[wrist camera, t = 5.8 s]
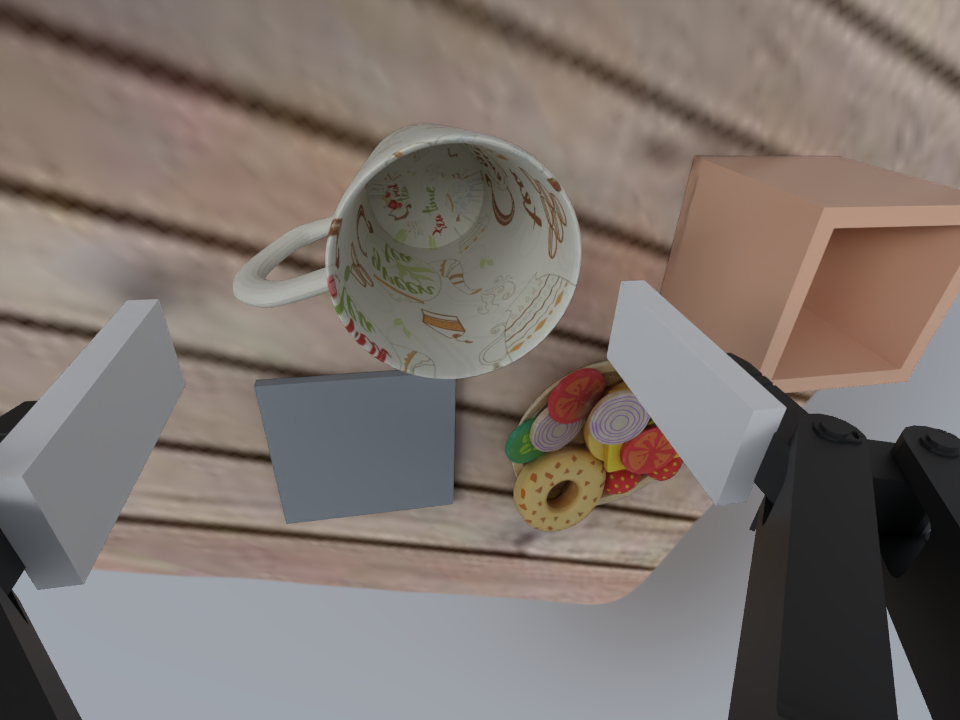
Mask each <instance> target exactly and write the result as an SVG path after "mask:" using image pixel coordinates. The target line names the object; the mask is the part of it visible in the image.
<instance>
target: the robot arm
mask: <svg viewBox="0 0 960 720" xmlns="http://www.w3.org/2000/svg"><path fill="white" fill-rule="evenodd" d="M607 359H608V360H609V361H610V363H611V364H612V365H613V367H614V368H615V369H616V371H617V372H618V373H619V375H620V376H621V377H622V379H623V380H624V382H625V383H626V384H627V386H628V387H629V388H630V390H631V391H632V392H633V394H634V395H635V396H636V398H637V399H638V401H639V402H640V403H641V405H642V406H643V407H644V409H645V410H646V411H647V413H648V414H649V415H650V417H651V418H652V420H653V421H654V422H655V424H656V425H657V426H658V428H659V429H660V430H661V432H662V433H663V434H664V436H665V437H666V439H667V440H668V441H669V443H670V444H671V445H672V447H673V448H674V449H675V451H676V452H677V453H678V455H679V456H680V458H681V459H682V460H683V462H684V463H685V464H686V466H687V467H688V468H689V470H690V471H691V472H692V474H693V475H694V476H695V478H696V479H697V481H698V482H699V483H700V485H701V486H702V487H703V489H704V490H705V491H706V493H707V494H708V495H709V497H710V498H711V500H712V501H713V502H714V504H715V505H716V506H720V505H728V504H735V503H744V502H746V501H747V498H748V496H749V494H750V492H751V489H752V487H753V485H754V483H755V484H756V485H757V486H758V487H759V488H760V490H761V491H762V492H763V493H764V494H765V496H764V498H763V500H762V503H761V505H760V507H759V509H758V511H757V513H756V516H755V518H754V520H753V522H752V524H751V527H750V530H752V531H755V529H756V535H755V542H754V548H753V555H752V562H751V568H750V576H749V582H748V589H747V596H746V602H745V609H744V616H743V622H742V629H741V636H740V642H739V649H738V656H737V663H736V669H735V676H734V683H733V689H732V696H731V703H730V709H729V717H728V720H898V715H897V706H896V697H895V687H894V677H893V668H892V659H891V649H890V641H889V631H888V621H887V611H886V607H887V609H888V612H889V614H890V617H891V619H892V622H893V624H894V626H895V629H896V631H897V634H898V636H899V639H900V641H901V644H902V646H903V648H904V651H905V653H906V656H907V658H908V661H909V663H910V666H911V668H912V670H913V673H914V675H915V678H916V680H917V683H918V685H919V687H920V690H921V692H922V695H923V697H924V699H925V702H926V705H927V707H928V709H929V712H930V714H931V717H932V719H933V720H960V439H959V438H957V437H956V436H955V435H953V434H951V433H946V431H943V430H940V429H934V428H930V427H927V426H915V425H914V426H910V427H906V428H905V429H904V430H903V432H902V433H901V435H900V436H899V438H898V440H897V442H896V443H891V442H884V441H875V440H868V439H866V436H865V435H864V434H863V433H861V431H859V430H858V429H857V428H856V427H854V426H853V425H851V424H849V423H847V422H846V421H843V420H841V419H838V418H836V417H833V416H828V415H824V414H808V413H807V412H806V411H805V410H804V409H803V408H802V407H800V406H799V405H798V404H797V403H796V402H795V401H793V400H792V399H791V398H790V397H789V396H788V395H786V394H785V393H784V392H783V391H782V390H781V389H780V388H778V387H777V386H776V385H773V382H771V381H770V380H769V379H768V378H767V377H766V376H762V373H761V372H760V371H759V370H758V369H756V368H755V367H754V366H753V365H752V364H751V363H749V362H748V361H746V360H744V359H742V358H740V357H738V356H736V355H734V354H732V353H725V352H724V351H723V350H722V349H721V348H719V347H718V346H717V345H716V344H715V343H714V342H713V341H712V340H710V339H709V338H708V337H707V336H706V335H705V334H704V333H703V332H702V331H700V330H699V329H698V328H697V327H696V326H695V325H694V324H693V323H691V322H690V321H689V320H688V319H687V318H686V317H685V316H684V315H683V314H681V313H680V312H679V311H678V310H677V309H676V308H675V307H674V306H672V305H671V304H670V303H669V302H668V301H667V300H666V299H665V298H664V297H662V296H661V295H660V294H659V293H658V292H657V291H656V290H655V289H653V288H652V287H651V286H650V285H649V284H648V283H647V282H646V281H645V280H637V281H621V285H620V290H619V295H618V300H617V306H616V311H615V316H614V321H613V326H612V331H611V336H610V341H609V347H608V352H607ZM185 385H186V384H185V381H184V378H183V375H182V372H181V368H180V365H179V362H178V359H177V356H176V352H175V349H174V346H173V343H172V340H171V336H170V333H169V330H168V327H167V324H166V320H165V317H164V314H163V311H162V308H161V304H160V301H159V299H152V300H127V301H126V302H125V303H124V305H123V306H122V307H121V308H120V309H119V310H118V311H117V312H116V314H115V315H114V316H113V317H112V318H111V319H110V320H109V321H108V323H107V324H106V325H105V326H104V327H103V328H102V329H101V330H100V332H99V333H98V334H97V335H96V336H95V337H94V338H93V339H92V341H91V342H90V343H89V344H88V345H87V346H86V347H85V348H84V350H83V351H82V352H81V353H80V354H79V355H78V356H77V358H76V359H75V360H74V361H73V362H72V363H71V364H70V365H69V367H68V368H67V369H66V370H65V371H64V372H63V373H62V374H61V376H60V377H59V378H58V379H57V380H56V381H55V382H54V383H53V385H52V386H51V387H50V388H49V389H48V390H47V391H46V392H45V394H44V395H43V396H42V397H41V398H40V399H39V400H38V401H26V402H23V403H22V404H20V405H18V406H17V407H15V408H14V409H12V410H10V411H9V412H7V413H6V414H4V415H2V416H1V417H0V720H82V719H81V717H80V715H79V713H78V712H77V709H76V707H75V706H74V704H73V702H72V700H71V698H70V696H69V694H68V692H67V690H66V689H65V687H64V685H63V683H62V681H61V679H60V677H59V675H58V673H57V671H56V669H55V667H54V665H53V664H52V662H51V660H50V658H49V656H48V654H47V652H46V650H45V648H44V646H43V644H42V643H41V641H40V639H39V637H38V635H37V633H36V631H35V629H34V627H33V625H32V623H31V621H30V620H29V618H28V616H27V614H26V612H25V610H24V608H23V606H22V604H21V602H20V600H19V599H18V597H17V596H16V595H15V593H14V592H13V590H12V588H13V586H14V585H15V583H16V582H17V580H18V579H19V577H20V576H21V574H22V572H23V571H24V570H25V571H26V573H27V574H28V576H29V577H30V579H31V580H32V582H33V583H34V585H35V586H36V588H37V589H38V590H40V589H48V588H56V587H64V586H72V585H81V584H84V583H85V580H86V579H87V577H88V575H89V573H90V571H91V569H92V567H93V565H94V563H95V561H96V559H97V557H98V555H99V553H100V551H101V549H102V548H103V546H104V544H105V542H106V540H107V538H108V536H109V534H110V532H111V530H112V528H113V526H114V524H115V522H116V520H117V518H118V516H119V514H120V512H121V510H122V508H123V506H124V504H125V503H126V501H127V499H128V497H129V495H130V493H131V491H132V489H133V487H134V485H135V483H136V481H137V479H138V477H139V475H140V473H141V471H142V469H143V467H144V465H145V463H146V461H147V459H148V457H149V456H150V454H151V452H152V450H153V448H154V446H155V444H156V442H157V440H158V438H159V436H160V434H161V432H162V430H163V428H164V426H165V424H166V422H167V420H168V418H169V416H170V414H171V412H172V410H173V409H174V407H175V405H176V403H177V401H178V399H179V397H180V395H181V393H182V391H183V389H184V387H185ZM930 530H931V531H930Z"/></svg>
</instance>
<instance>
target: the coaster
mask: <svg viewBox="0 0 960 720" xmlns="http://www.w3.org/2000/svg"><path fill="white" fill-rule="evenodd" d="M254 387H255V391H256V396H257V400H258V404H259V409H260V413H261V417H262V421H263V426H264V430H265V434H266V439H267V443H268V447H269V451H270V456H271V460H272V464H273V469H274V473H275V477H276V481H277V486H278V490H279V494H280V499H281V503H282V507H283V511H284V516H285V520H286V524H290V523H299V522H307V521H315V520H324V519H332V518H341V517H349V516H357V515H366V514H374V513H382V512H391V511H399V510H407V509H416V508H424V507H433V506H441V505H449V504H453V489H454V439H455V388H456V379H434V378H427V377H421V376H416V375H412V374H409V373H406V372H403V371H400V370H394V371H380V372H366V373H352V374H338V375H324V376H310V377H296V378H282V379H268V380H256V383H255V386H254Z"/></svg>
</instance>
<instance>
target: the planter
mask: <svg viewBox="0 0 960 720" xmlns="http://www.w3.org/2000/svg"><path fill="white" fill-rule="evenodd" d="M959 291H960V190H958V189H954V188H951V187H947V186H943V185H940V184H936V183H933V182H929V181H926V180H922V179H919V178H915V177H911V176H908V175H904V174H901V173H897V172H894V171H890V170H886V169H883V168H879V167H876V166H872V165H869V164H865V163H862V162H858V161H854V160H851V159H847V158H844V157H840V156H695V157H694V161H693V165H692V169H691V173H690V177H689V181H688V185H687V189H686V193H685V197H684V201H683V205H682V209H681V213H680V217H679V221H678V225H677V229H676V233H675V237H674V241H673V245H672V249H671V253H670V257H669V261H668V265H667V269H666V273H665V277H664V281H663V285H662V289H661V293H660V295H661V296H662V297H664V298H665V299H666V300H667V301H668V302H669V303H670V304H671V305H672V306H674V307H675V308H676V309H677V310H678V311H679V312H680V313H681V314H683V315H684V316H685V317H686V318H687V319H688V320H689V321H690V322H691V323H693V324H694V325H695V326H696V327H697V328H698V329H699V330H700V331H702V332H703V333H704V334H705V335H706V336H707V337H708V338H709V339H710V340H712V341H713V342H714V343H715V344H716V345H717V346H718V347H719V348H721V349H722V350H723V351H724V352H725V353H732V354H734V355H736V356H738V357H740V358H742V359H744V360H746V361H748V362H749V363H751V364H752V365H753V366H754V367H755V368H756V369H758V370H759V371H760V372H761V373H762V376H766V377H767V378H768V379H769V380H770V381H771V382H773V385H776V386H777V387H778V388H780V389H781V390H782V391H783V392H784V393H789V392H800V391H811V390H821V389H833V388H844V387H855V386H866V385H876V384H887V383H899V382H907V380H908V379H909V377H910V375H911V373H912V372H913V370H914V368H915V367H916V365H917V363H918V362H919V360H920V358H921V356H922V354H923V353H924V351H925V350H926V348H927V346H928V344H929V343H930V341H931V339H932V338H933V336H934V334H935V332H936V331H937V329H938V327H939V326H940V324H941V322H942V320H943V319H944V317H945V315H946V314H947V312H948V310H949V308H950V306H951V305H952V303H953V302H954V300H955V298H956V296H957V295H958V293H959Z"/></svg>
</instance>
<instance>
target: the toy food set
mask: <svg viewBox="0 0 960 720" xmlns="http://www.w3.org/2000/svg"><path fill="white" fill-rule="evenodd" d="M505 452H506V455H507V457H508V458H509V459H510V460H511V461H512V465H513V469H514V472H515V475H516V477H517V480H516V483H515V487H514V502H515V506H516V508H517V510H518V511H519V513H520V515H521V516H522V518H523V519H524V520H525V522H527V523H528V524H529V525H530V526H532V527H533V528H535V529H538V530H542V531H559V530H563V529H567V528H569V527H571V526H573V525H575V524H577V523H579V522H580V521H582V520H583V519H584V518H585V517H587V516H588V515H589V514H590V512H591V511H592V510H593V509H594V508H595V506H596V505H600V504H604V503H608V502H611V501H614V500H617V499H620V498H622V497H625V496H627V495H629V494H631V493H633V492H635V491H637V490H639V489H640V488H642V487H643V486H645V485H646V484H648V483H649V482H651V481H652V480H653V479H655V480H659V481H663V480H667V479H670V478H671V477H673V476H674V475H675V474H676V473H677V472H678V470H679V469H680V467H681V465H682V462H683V460H682V459H681V458H680V456H679V455H678V453H677V452H676V451H675V449H674V448H673V447H672V445H671V444H670V443H669V441H668V440H667V439H666V437H665V436H664V434H663V433H662V432H661V430H660V429H659V428H658V426H657V425H656V424H655V422H654V421H653V420H652V418H651V417H650V415H649V414H648V413H647V411H646V410H645V409H644V407H643V406H642V405H641V403H640V402H639V401H638V399H637V398H636V396H635V395H634V394H633V392H632V391H631V390H630V388H629V387H628V386H627V384H626V383H625V382H624V380H623V379H622V377H621V376H620V375H619V373H618V372H617V371H616V369H615V368H614V367H613V365H612V364H611V363H610V361H609V360H605V361H601V362H597V363H594V364H591V365H588V366H585V367H582V368H580V369H578V370H576V371H574V372H572V373H570V374H568V375H566V376H564V377H563V378H561V379H559V380H558V381H556V382H555V383H554V384H552V385H551V386H550V387H548V388H547V389H546V390H545V391H544V392H543V393H542V394H541V395H540V396H539V397H538V398H537V399H536V400H535V401H534V402H533V403H532V404H531V406H530V407H529V408H528V410H527V411H526V413H525V414H524V416H523V417H522V419H521V421H520V423H519V425H518V427H517V428H516V429H515V430H514V431H513V432H512V433H511V435H510V436H509V438H508V440H507V442H506V445H505Z"/></svg>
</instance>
